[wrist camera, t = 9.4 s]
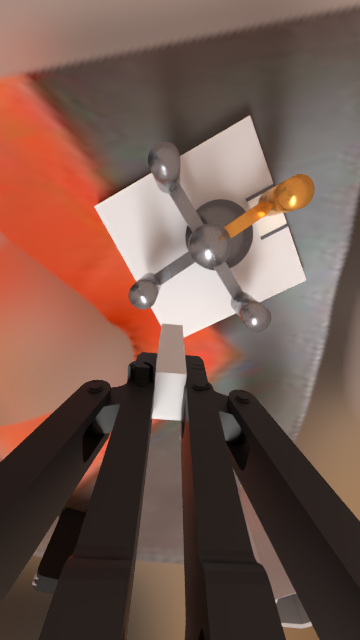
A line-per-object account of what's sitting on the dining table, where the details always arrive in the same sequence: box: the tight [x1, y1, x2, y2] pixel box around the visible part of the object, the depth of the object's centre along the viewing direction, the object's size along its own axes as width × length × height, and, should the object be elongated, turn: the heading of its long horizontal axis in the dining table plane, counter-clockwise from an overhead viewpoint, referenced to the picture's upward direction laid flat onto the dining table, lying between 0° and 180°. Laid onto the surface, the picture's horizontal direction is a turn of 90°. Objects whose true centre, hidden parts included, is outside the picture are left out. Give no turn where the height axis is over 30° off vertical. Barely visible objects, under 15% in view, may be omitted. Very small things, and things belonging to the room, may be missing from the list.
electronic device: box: [32, 509, 86, 594], centre depth 44 cm, size 4×10×10 cm, turn 68°
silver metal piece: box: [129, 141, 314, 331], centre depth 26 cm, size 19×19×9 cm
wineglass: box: [238, 483, 313, 628], centre depth 32 cm, size 9×9×21 cm
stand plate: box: [94, 115, 306, 337], centre depth 31 cm, size 20×20×2 cm
